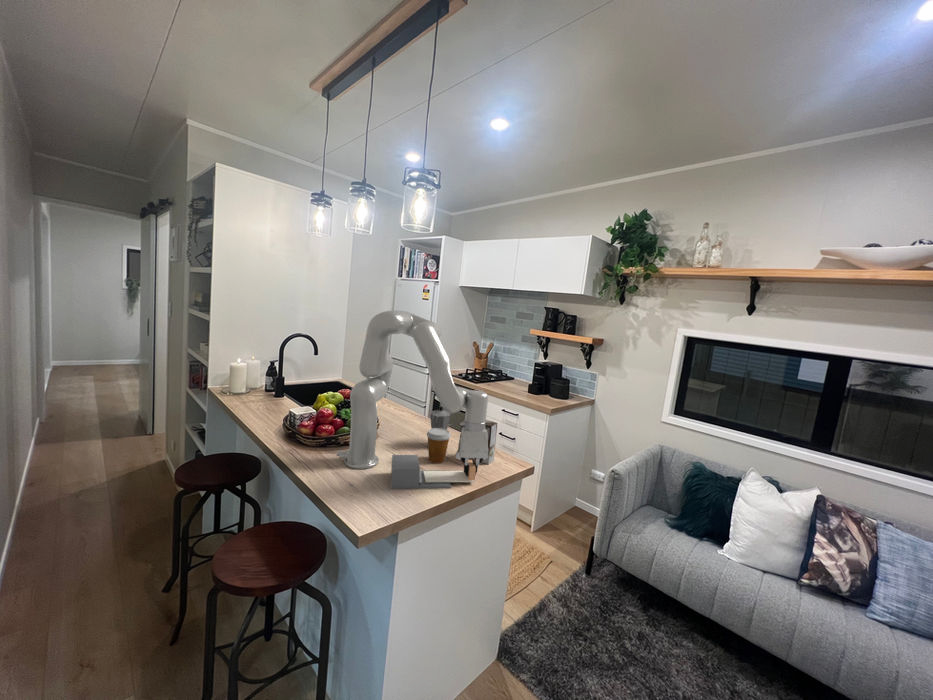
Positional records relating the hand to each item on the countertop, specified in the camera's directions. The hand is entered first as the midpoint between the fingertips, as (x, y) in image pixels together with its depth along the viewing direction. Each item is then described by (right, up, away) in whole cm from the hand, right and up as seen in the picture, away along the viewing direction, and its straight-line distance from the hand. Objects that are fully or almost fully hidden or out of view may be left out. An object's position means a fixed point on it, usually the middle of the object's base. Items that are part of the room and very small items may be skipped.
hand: (470, 474), depth 135 cm
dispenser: (-18, -1, -4) cm, 18 cm away
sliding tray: (-8, -1, -2) cm, 8 cm away
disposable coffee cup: (-13, 0, +15) cm, 20 cm away
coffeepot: (-14, +2, +31) cm, 34 cm away
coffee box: (+5, -1, +20) cm, 20 cm away
